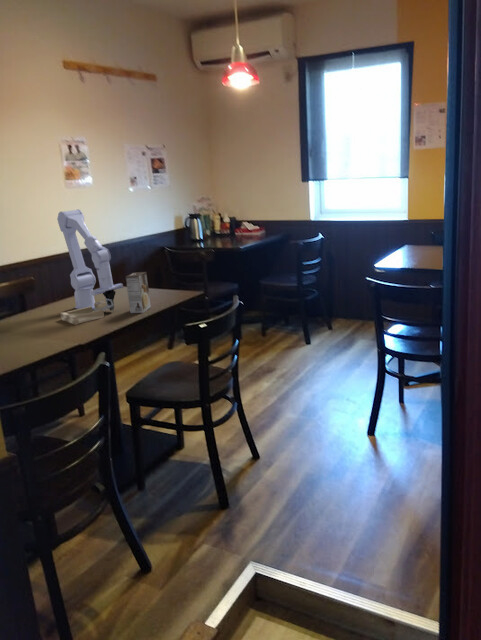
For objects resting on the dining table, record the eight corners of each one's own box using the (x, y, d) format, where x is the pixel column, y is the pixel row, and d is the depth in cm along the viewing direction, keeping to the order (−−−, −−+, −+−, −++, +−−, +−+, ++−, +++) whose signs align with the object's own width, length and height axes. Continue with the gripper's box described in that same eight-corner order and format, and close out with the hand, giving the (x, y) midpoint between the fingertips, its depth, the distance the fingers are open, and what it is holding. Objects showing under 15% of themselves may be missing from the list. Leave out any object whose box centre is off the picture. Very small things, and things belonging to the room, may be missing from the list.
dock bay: (61, 319, 238) (60, 312, 237) (90, 312, 246) (89, 306, 245) (75, 324, 227) (74, 317, 227) (105, 317, 236) (104, 310, 235)
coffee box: (137, 307, 248) (133, 272, 244) (151, 307, 247) (146, 271, 242) (129, 313, 239) (124, 276, 235) (143, 312, 238) (139, 275, 234)
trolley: (93, 314, 243) (89, 304, 241) (109, 307, 247) (106, 297, 245) (99, 316, 238) (96, 306, 236) (115, 309, 243) (112, 299, 241)
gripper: (94, 281, 233) (100, 313, 237) (124, 274, 242) (129, 304, 246) (86, 280, 238) (92, 311, 242) (116, 273, 247) (121, 302, 251)
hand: (110, 307), depth 244 cm, fingers closed, pressing on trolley
